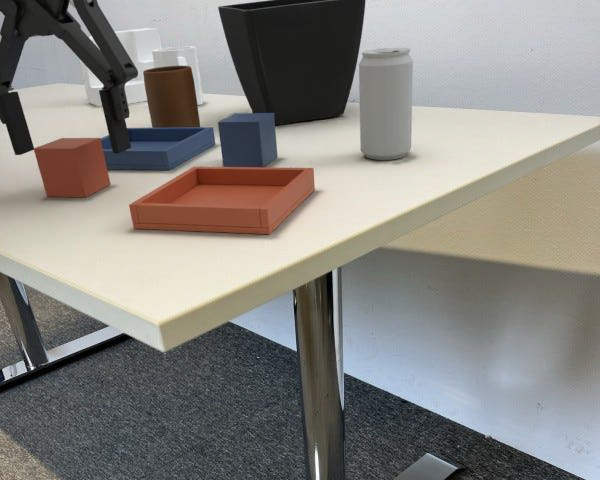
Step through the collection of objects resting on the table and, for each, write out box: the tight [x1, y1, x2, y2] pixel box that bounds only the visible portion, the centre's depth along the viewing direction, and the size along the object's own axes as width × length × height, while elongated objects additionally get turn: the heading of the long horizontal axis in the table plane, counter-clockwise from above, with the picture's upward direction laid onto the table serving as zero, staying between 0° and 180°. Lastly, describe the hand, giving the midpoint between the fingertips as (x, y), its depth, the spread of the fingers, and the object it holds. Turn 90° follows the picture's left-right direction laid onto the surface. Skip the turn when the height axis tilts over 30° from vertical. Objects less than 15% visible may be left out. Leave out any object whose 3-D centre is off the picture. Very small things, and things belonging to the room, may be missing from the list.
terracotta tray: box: [128, 166, 316, 235], centre depth 68 cm, size 15×15×2 cm
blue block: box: [217, 112, 279, 167], centre depth 84 cm, size 6×6×6 cm
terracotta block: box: [33, 137, 111, 198], centre depth 78 cm, size 6×6×6 cm
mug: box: [143, 66, 201, 128], centre depth 104 cm, size 12×8×9 cm, turn 23°
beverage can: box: [358, 47, 414, 161], centre depth 80 cm, size 6×6×12 cm
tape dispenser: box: [78, 27, 163, 107], centre depth 136 cm, size 16×10×13 cm, turn 120°
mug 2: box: [152, 45, 204, 106], centre depth 125 cm, size 12×9×10 cm
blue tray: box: [99, 126, 216, 171], centre depth 92 cm, size 15×15×2 cm
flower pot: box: [217, 0, 367, 126], centre depth 106 cm, size 19×19×17 cm
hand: (72, 151), depth 77 cm, fingers open, 13 cm apart
